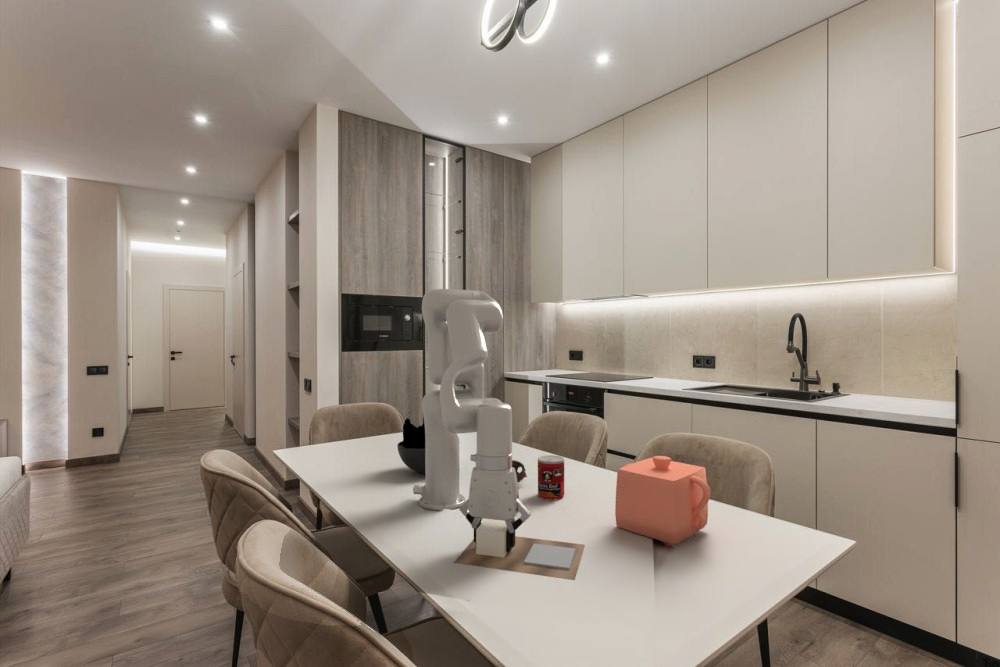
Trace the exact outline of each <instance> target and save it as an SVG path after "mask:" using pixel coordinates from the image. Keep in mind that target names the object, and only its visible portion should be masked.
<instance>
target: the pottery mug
mask: <svg viewBox="0 0 1000 667" xmlns="http://www.w3.org/2000/svg"><path fill="white" fill-rule="evenodd" d="M512 467H514V468H515V471H516V476H517V482H518V483H521V481H523V480H524V479H525V478H527V477H528V476H527V473H526V468H525V465H524V464H523V463H522V462H520V461H518V460H515V459H512ZM519 468H521V470H520V472H519V471H518V469H519Z"/></svg>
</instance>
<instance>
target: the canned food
mask: <svg viewBox="0 0 1000 667" xmlns="http://www.w3.org/2000/svg"><path fill="white" fill-rule="evenodd" d="M537 494H538V495H537V496H538V497H539V498H540V499H542V498H543V500H546V499H548V501H556V500H555V499H557V500H560V498H561V499H563V498H564V496H565V458H564V457H562V456H559V455H552V454H551V455H548V454H547V455H542V456H539V457H538V458H537ZM562 497H563V498H562Z"/></svg>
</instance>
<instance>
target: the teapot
mask: <svg viewBox="0 0 1000 667" xmlns="http://www.w3.org/2000/svg"><path fill="white" fill-rule="evenodd" d="M706 471H707V470H706V468H705V467H704V466H700V465H694V464H688V463H685V462H678V461H673V460H672V458H671V457H669V456H665V455H655V456H652V457H649V458H646V459H643V460H639V461H636V462H633V463H626V464H625V465H623V466H622V467H620V468H618V469H617V473H616V488H615V505H614V506H615V510H614V511H615V512H614V514H615V524H616V527H617V528H619V529H622V530H625V531H628V532H631V533H635V534H638V535H641V536H644V537H646V538H647V537H648V538H650V539H655V540H657V541H660V542H662V544H663V545H665V546H668V547H678V546H679V545H680V543H682V542H683V541H684V540H687V539H689V537H691V535H692V536H695V535H696V533H697V532H699V531H701V530H702V529H704V528H705V527H706V525H707V524H708V518H709V517H708V515H709V501H710V499H711V494H712V492H711V487H710V486H709V484H708V483H707V472H706Z"/></svg>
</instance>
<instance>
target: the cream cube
mask: <svg viewBox="0 0 1000 667" xmlns="http://www.w3.org/2000/svg"><path fill="white" fill-rule="evenodd" d="M481 523H482V524H481V525H480V526H479V527H478V528H477V529H476V554H481V555H488V556H496V557H503V558H504V557H505V555H506V554H507V551H506V533H507V532H508V528H507V525H506V523H505V521H503V520H493V519H484V520H482V522H481Z"/></svg>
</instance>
